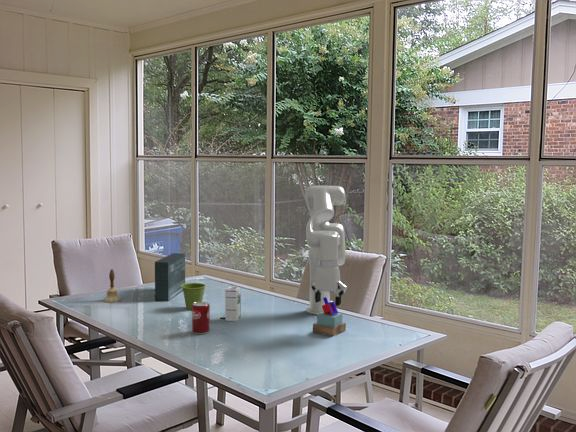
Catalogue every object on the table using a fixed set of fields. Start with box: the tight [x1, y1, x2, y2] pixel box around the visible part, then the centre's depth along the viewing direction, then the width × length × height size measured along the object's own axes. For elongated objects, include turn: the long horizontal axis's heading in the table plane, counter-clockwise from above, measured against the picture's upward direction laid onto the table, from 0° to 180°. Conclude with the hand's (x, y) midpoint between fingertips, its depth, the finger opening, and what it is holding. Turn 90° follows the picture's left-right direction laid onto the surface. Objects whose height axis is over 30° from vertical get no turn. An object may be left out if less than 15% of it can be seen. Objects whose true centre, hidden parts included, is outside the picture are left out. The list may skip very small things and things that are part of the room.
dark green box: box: [154, 252, 186, 302], centre depth 311 cm, size 29×7×20 cm, turn 173°
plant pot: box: [181, 282, 207, 311], centre depth 283 cm, size 12×12×11 cm
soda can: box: [191, 301, 211, 335], centre depth 244 cm, size 7×7×12 cm
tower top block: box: [316, 312, 343, 327], centre depth 246 cm, size 8×8×4 cm
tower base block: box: [312, 321, 347, 337], centre depth 247 cm, size 10×10×4 cm
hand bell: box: [103, 269, 122, 303], centre depth 297 cm, size 8×8×16 cm
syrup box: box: [224, 286, 242, 322], centre depth 264 cm, size 6×6×14 cm
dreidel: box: [322, 297, 339, 315], centre depth 247 cm, size 4×4×8 cm
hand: (327, 303), depth 246 cm, fingers open, 9 cm apart
